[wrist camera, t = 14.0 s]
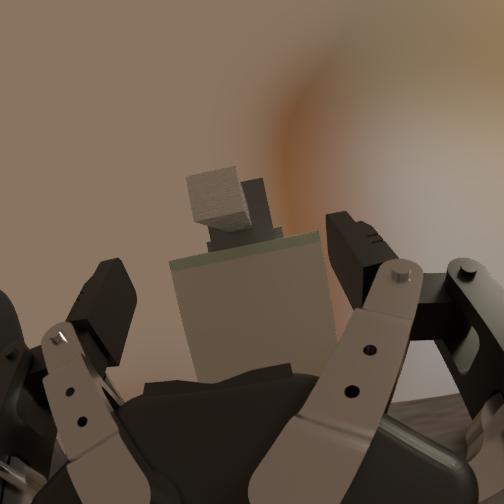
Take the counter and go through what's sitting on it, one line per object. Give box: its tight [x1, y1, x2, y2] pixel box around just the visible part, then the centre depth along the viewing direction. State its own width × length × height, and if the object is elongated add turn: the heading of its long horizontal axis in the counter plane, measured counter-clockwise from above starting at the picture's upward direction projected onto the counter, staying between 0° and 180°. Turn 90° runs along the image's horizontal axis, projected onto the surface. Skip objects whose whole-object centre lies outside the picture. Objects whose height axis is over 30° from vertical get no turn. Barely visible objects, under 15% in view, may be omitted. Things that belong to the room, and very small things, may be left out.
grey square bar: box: [186, 166, 275, 252], centre depth 25 cm, size 24×6×6 cm, turn 179°
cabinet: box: [169, 227, 338, 384], centre depth 37 cm, size 16×14×33 cm
